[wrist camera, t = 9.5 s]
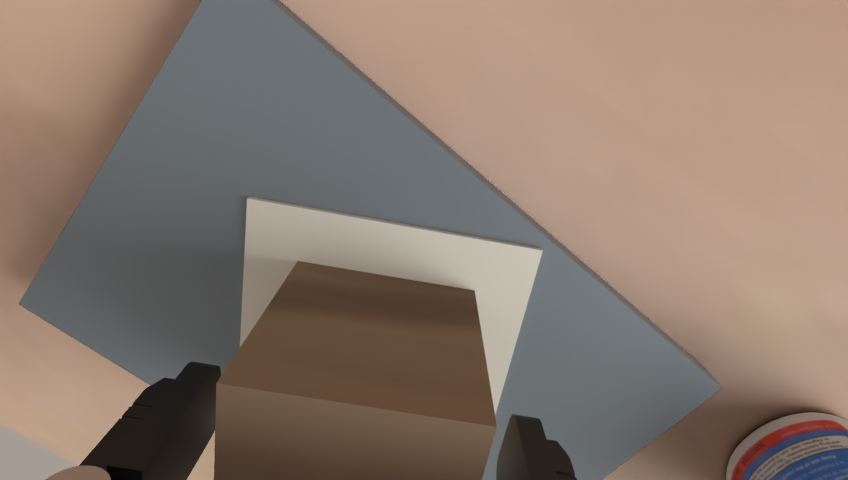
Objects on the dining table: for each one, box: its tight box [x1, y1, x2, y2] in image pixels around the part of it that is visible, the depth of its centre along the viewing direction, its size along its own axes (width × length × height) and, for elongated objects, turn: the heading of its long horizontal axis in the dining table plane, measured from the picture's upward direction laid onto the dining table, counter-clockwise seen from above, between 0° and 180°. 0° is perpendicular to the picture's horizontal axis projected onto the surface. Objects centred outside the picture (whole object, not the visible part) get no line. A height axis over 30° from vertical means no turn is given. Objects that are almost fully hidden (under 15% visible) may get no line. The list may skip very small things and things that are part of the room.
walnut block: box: [214, 261, 497, 480], centre depth 13 cm, size 6×6×6 cm
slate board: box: [19, 0, 722, 480], centre depth 17 cm, size 20×13×1 cm, turn 50°
